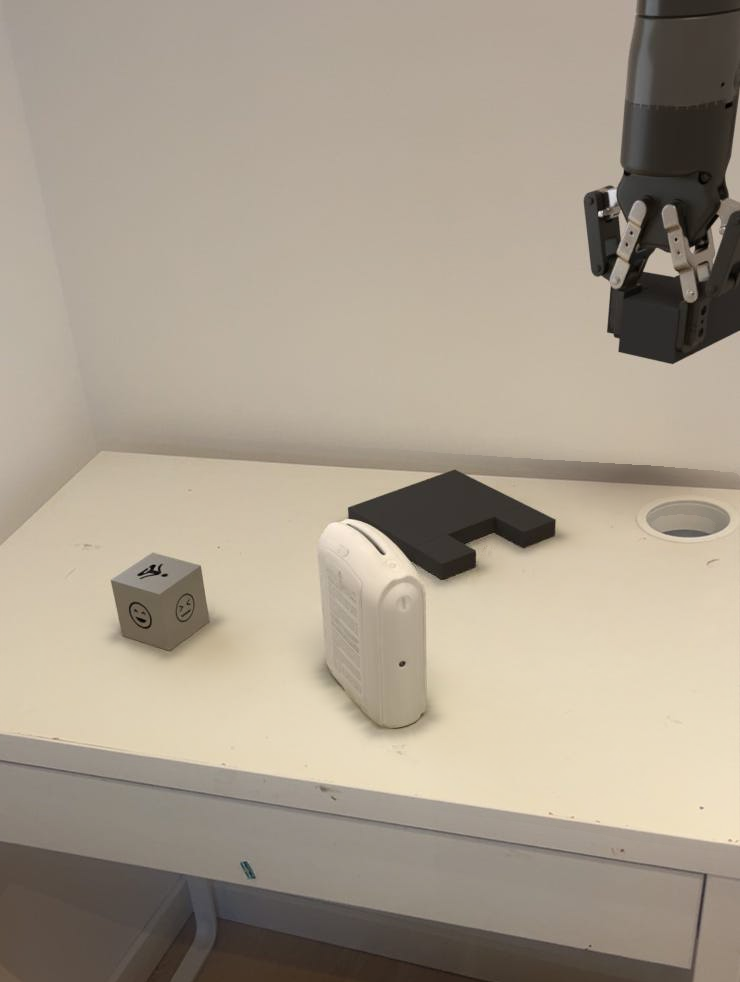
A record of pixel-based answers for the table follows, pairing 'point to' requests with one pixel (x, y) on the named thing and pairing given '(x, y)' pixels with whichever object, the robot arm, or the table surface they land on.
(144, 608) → the dice cube
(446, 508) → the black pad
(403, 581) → the photo printer
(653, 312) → the black t-shaped block
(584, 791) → the table surface
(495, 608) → the table surface
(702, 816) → the table surface
